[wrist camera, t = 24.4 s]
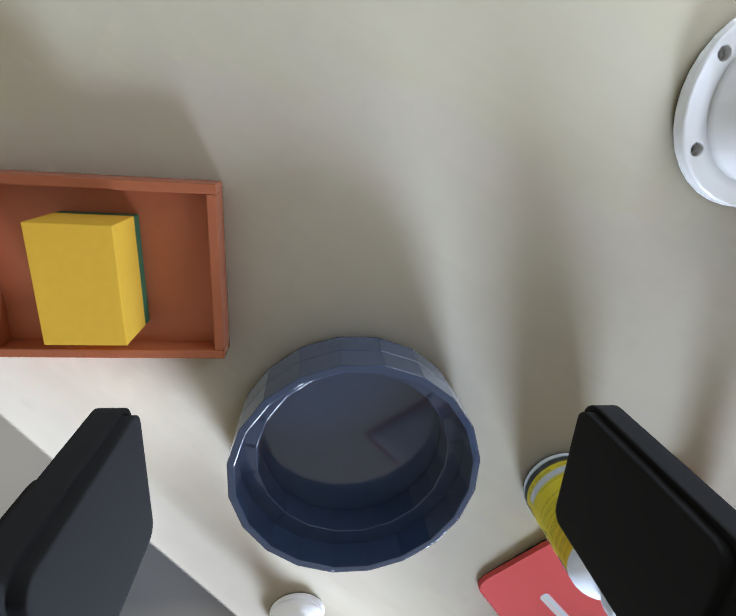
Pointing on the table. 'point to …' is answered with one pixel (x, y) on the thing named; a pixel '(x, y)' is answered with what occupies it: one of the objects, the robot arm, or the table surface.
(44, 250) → the sponge
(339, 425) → the bowl
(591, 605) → the desk lamp
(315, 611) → the chess piece
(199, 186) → the sponge dish
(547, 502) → the pill bottle
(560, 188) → the table surface
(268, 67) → the table surface
